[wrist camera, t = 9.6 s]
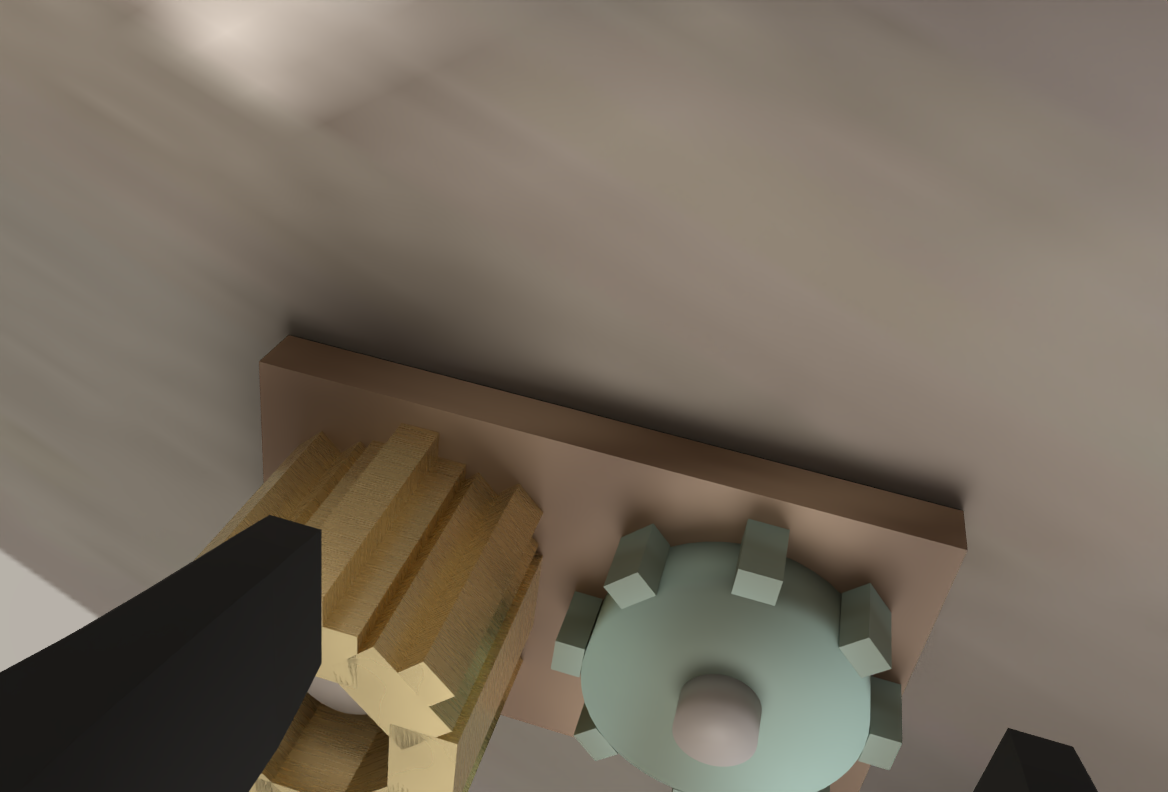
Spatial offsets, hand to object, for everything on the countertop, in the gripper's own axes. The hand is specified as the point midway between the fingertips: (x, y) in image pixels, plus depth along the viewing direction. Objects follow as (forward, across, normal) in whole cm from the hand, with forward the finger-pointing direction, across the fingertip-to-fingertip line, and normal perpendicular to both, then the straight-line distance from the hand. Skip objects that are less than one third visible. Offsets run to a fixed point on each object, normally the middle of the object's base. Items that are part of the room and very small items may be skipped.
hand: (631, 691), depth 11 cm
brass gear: (+8, +6, +7) cm, 12 cm away
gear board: (+9, +2, +7) cm, 12 cm away
